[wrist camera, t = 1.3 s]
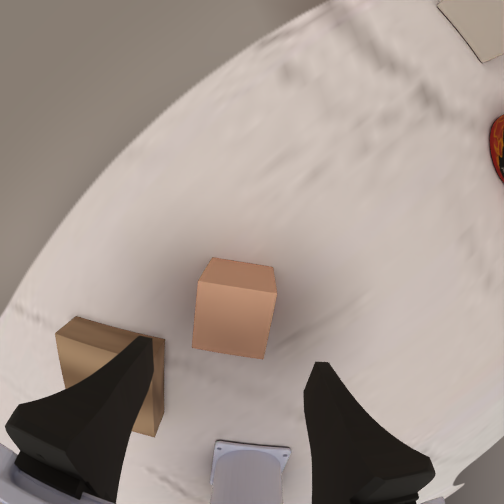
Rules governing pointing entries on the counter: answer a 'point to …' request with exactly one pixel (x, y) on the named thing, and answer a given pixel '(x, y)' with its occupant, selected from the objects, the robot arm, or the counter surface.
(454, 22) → the milk carton
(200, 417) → the counter surface
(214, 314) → the terracotta block
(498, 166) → the canned food
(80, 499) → the robot arm
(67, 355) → the walnut base block
